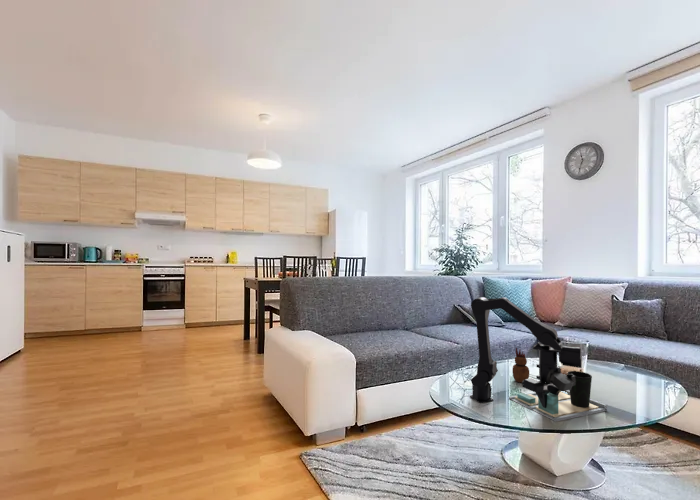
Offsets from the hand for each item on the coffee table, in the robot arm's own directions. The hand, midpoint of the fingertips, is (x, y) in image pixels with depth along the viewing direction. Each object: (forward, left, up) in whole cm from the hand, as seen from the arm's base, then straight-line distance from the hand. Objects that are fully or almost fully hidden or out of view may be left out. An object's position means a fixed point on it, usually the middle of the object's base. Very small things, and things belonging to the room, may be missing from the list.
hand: (548, 406), depth 132 cm
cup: (+16, 0, -2) cm, 16 cm away
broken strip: (+9, +10, -2) cm, 14 cm away
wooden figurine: (+17, +29, -3) cm, 34 cm away
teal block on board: (+9, 0, -2) cm, 9 cm away
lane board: (+10, +5, -2) cm, 11 cm away
